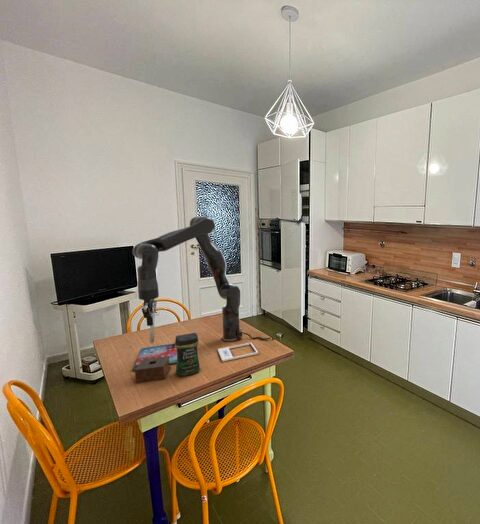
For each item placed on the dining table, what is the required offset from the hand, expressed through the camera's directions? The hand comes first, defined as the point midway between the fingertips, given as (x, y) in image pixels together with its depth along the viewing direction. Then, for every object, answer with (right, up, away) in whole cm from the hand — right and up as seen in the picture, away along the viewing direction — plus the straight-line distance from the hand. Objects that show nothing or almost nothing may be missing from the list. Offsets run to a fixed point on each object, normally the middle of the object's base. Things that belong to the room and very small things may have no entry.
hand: (150, 324), depth 134 cm
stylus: (0, -9, +1) cm, 9 cm away
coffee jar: (+15, -23, +3) cm, 28 cm away
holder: (+1, -23, 0) cm, 23 cm away
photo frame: (+31, -20, +25) cm, 44 cm away
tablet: (-8, -20, +18) cm, 28 cm away
